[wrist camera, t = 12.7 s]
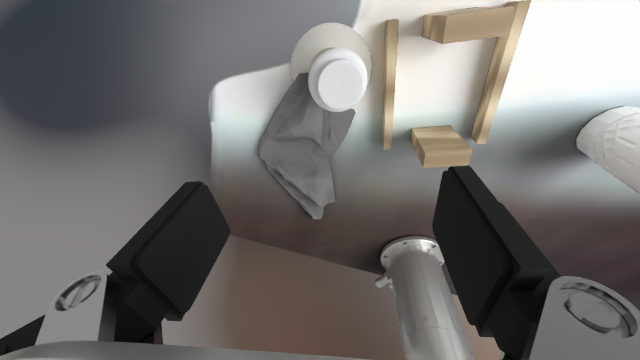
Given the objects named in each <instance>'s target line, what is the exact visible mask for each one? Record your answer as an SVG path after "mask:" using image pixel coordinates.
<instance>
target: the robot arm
mask: <svg viewBox="0 0 640 360" xmlns="http://www.w3.org/2000/svg"><path fill="white" fill-rule="evenodd" d="M433 232H434V235H435V238H436V240H437V241H435V240H433V239H431V238H427V237H423V236H408V237H402V238H399V239H396V240H394V241H392V242H390V243H389V244H387V245H386V246H385V247H384V248H383V250H382V252H381V263H382V265H383V267H384V268H385V269H386V272H385V273H384V275H383V276H381V277H379V278H378V279H376V280H375V284H376V285H377V287H379V288H381V287H383V286H385V285H386V284H387V283H388V285H389V287H390V288H392V289H393V291H394V297H395V303H396V309H397V316H398V321H399V328H400V334H401V340H402V346H403V351H404V355H405V357H406V360H475V358H474V356H473V353H472V350H471V347H470V345H469V342H468V339H467V337H466V334H465V331H464V328H463V326H462V323H461V320H460V317H459V315H458V312H457V309H456V307H455V304H454V301H453V298H452V295H451V293H450V290H449V287H448V284H447V282H446V279H445V276H444V273H443V271H442V268H441V266H442V264H443V263H444V261H445V264H446V266H447V269H448V271H449V274H450V277H451V279H452V282H453V284H454V287H455V289H456V292H457V295H458V297H459V300H460V302H461V305H462V308H463V310H464V313H465V315H466V318H467V320H468V322H469V324H471V325H475V326H476V329H477V331H478V334H479V336H480V337H494V338H495V340H496V343H497V345H498V347H499V349H500V350H501V351H502V352H501V355H500V357H499V360H640V312H639V311H638V310H637V309H636V308H635V307H634V306H633V305H632V304H631V303H630V302H629V301H628V300H626V299H625V298H623V297H622V296H620V295H619V294H617V293H616V292H615V291H613V290H611V289H609V288H607V287H605V286H603V285H601V284H599V283H597V282H594V281H591V280H588V279H585V278H580V277H574V276H565V277H561V276H560V275H559V273H558V272H557V271H556V270H555V268H554V267H553V266H552V265H551V263H550V262H549V261H548V260H547V258H546V257H545V256H544V255H543V254H542V252H541V251H540V250H539V249H538V247H537V246H536V245H535V244H534V242H533V241H532V240H531V239H530V237H529V236H528V235H527V234H526V232H525V231H524V230H523V229H522V227H521V226H520V225H519V224H518V222H517V221H516V220H515V219H514V218H513V216H512V215H511V214H510V213H509V211H508V210H507V209H506V208H505V206H504V205H502V204H501V203H500V202H498V201H497V200H496V198H495V197H494V196H493V194H492V193H491V192H490V191H489V189H488V188H487V187H486V186H485V184H484V183H483V182H482V181H481V179H480V178H479V177H478V176H477V174H476V173H475V172H474V171H473V169H472V168H471V167H470V166H468V165H466V166H451V167H449V169H448V171H444V172H443V174H442V179H441V184H440V189H439V194H438V199H437V204H436V209H435V214H434V219H433ZM229 235H230V228H229V226H228V224H227V222H226V220H225V218H224V217H223V215H222V213H221V211H220V209H219V207H218V205H217V203H216V201H215V199H214V198H213V196H212V194H211V192H210V190H209V188H208V186H207V185H204V183H203V182H200V181H196V182H186V183H185V184H183V186H181V188H180V189H179V190H178V191H177V192H176V193H175V194H174V195H173V196H172V197H171V198H170V199H169V200H168V201H167V202H166V203H165V204H164V205H163V206H162V207H161V208H160V209H159V210H158V211H157V212H156V213H155V214H154V216H153V217H152V218H151V219H150V220H149V221H148V222H147V223H146V224H145V225H144V226H143V227H142V228H141V229H140V230H139V231H138V232H137V233H136V234H135V235H134V236H133V237H132V238H131V239H130V240H129V242H128V243H127V244H126V245H125V246H124V247H123V248H122V249H121V250H120V251H119V252H118V253H117V254H116V255H115V256H114V257H113V258H112V259H111V260H110V261H109V262H108V263H107V264H106V266H107V267H108V268H109V269H111V270H112V271H113V272H112V273H111V274H110V275H107V274H106V273H105V272H104V271H94V272H90V273H87V274H85V275H83V276H81V277H79V278H77V279H75V280H74V281H72V282H71V283H69V284H68V285H67V286H65V287H64V288H63V289H62V290H61V291H60V292H59V293H58V294H57V295H56V296H55V297H54V299H53V300H52V302H51V303H50V305H49V307H48V310H47V313H46V314H45V315H43V316H42V317H40V318H38V319H36V320H34V321H32V322H31V323H29V324H27V325H25V326H23V327H22V328H20V329H18V330H16V331H14V332H12V333H11V334H9V335H7V336H5V337H3V338H1V339H0V360H371V359H358V358H357V359H356V358H344V357H331V356H318V355H305V354H291V353H277V352H262V351H247V350H233V349H219V348H206V347H191V346H176V345H163V338H162V324H161V322H162V320H163V318H166V319H167V320H168V321H181V320H182V318H183V316H184V314H185V313H186V312H187V311H188V310H189V309H190V308H191V306H192V304H193V303H194V301H195V299H196V297H197V295H198V293H199V291H200V289H201V288H202V286H203V284H204V282H205V280H206V278H207V276H208V275H209V273H210V271H211V269H212V267H213V265H214V263H215V262H216V260H217V258H218V256H219V254H220V252H221V250H222V248H223V247H224V245H225V243H226V241H227V239H228V237H229Z"/></svg>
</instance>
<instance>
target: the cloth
mask: <svg viewBox="0 0 640 360" xmlns="http://www.w3.org/2000/svg"><path fill="white" fill-rule="evenodd" d="M308 77H309V72H307V73H299V74H298V76H297V77H296V79H295V81H294V83H293V84H292V86H291V87H290V88H289V90H288V91H287V93H286V94H285V96H284V97H283V99H282V101H281V102H280V104H279V106H278V107H277V109H276V111H275V112H274V114H273V116H272V118H271V120H270V122H269V124H268V126H267V128H266V130H265V132H264V134H263V136H262V138H261V140H260V143H259V147H258V151H259V157H260V158H261V159H263V160H264V162H265V164H266V166H267V168H268V170H269V171H270V172H271V173H272V174H273V176H274V177H275V178H276V179H277V180H278V181H279V182H280V183H281V185H282V186H283V187H284V188H285V189H286V190H287V191H288V192H289V193H290V194H291V196H293V197H294V198H295V199H296V200H297V201H298V202H299V203H300V204H301V205H302V207H303V208H304V209H305V210H306V211H307V212H308V213H309V214H310V215H311V216H312V219H322V216H323V212H324V206H325V205H326V204H328V203H331V202H335V195H334V185H333V178H332V172H331V167H330V161H331V159H332V155H333V154H334V153H335V152H336V150H337V149H338V148H339V146H340V144H341V143H342V141H343V140H344V138H345V136H346V134H347V131H348V129H349V127H350V125H351V123H352V120H353V117H354V115H355V111H354V110H352V109H349V110H346V111H343V112H331V111H327V110H325V109H323V108H322V107H320V106H319V105H318V104H317V103H316V102H315V101H314V99H313V98H312V96H311V93H310V90H309V86H308Z"/></svg>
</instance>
